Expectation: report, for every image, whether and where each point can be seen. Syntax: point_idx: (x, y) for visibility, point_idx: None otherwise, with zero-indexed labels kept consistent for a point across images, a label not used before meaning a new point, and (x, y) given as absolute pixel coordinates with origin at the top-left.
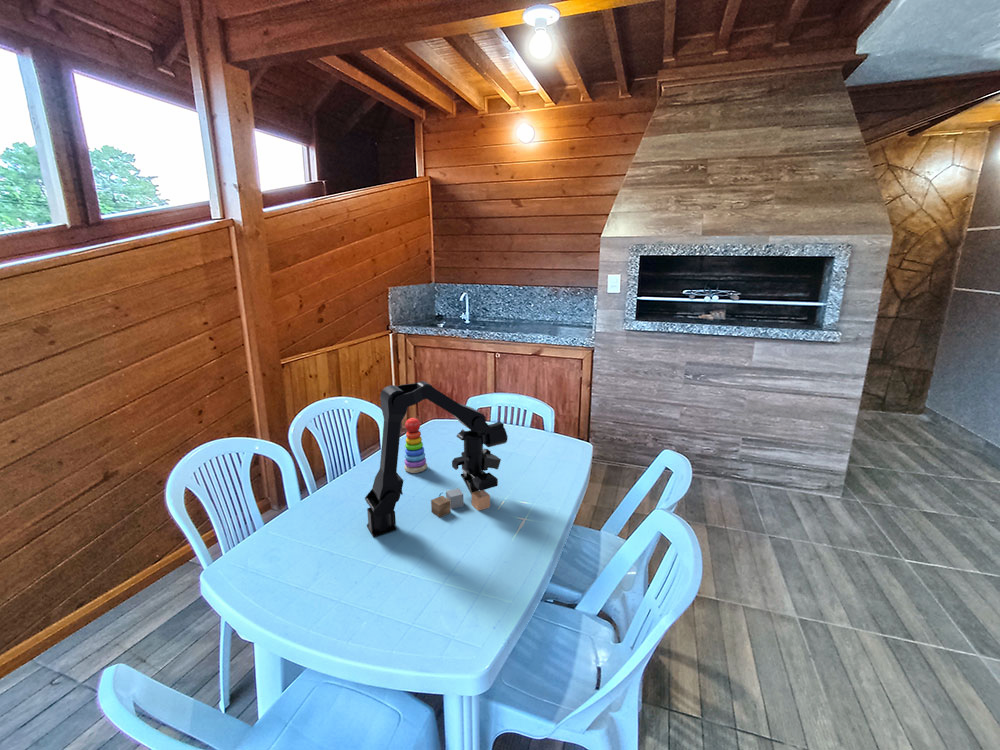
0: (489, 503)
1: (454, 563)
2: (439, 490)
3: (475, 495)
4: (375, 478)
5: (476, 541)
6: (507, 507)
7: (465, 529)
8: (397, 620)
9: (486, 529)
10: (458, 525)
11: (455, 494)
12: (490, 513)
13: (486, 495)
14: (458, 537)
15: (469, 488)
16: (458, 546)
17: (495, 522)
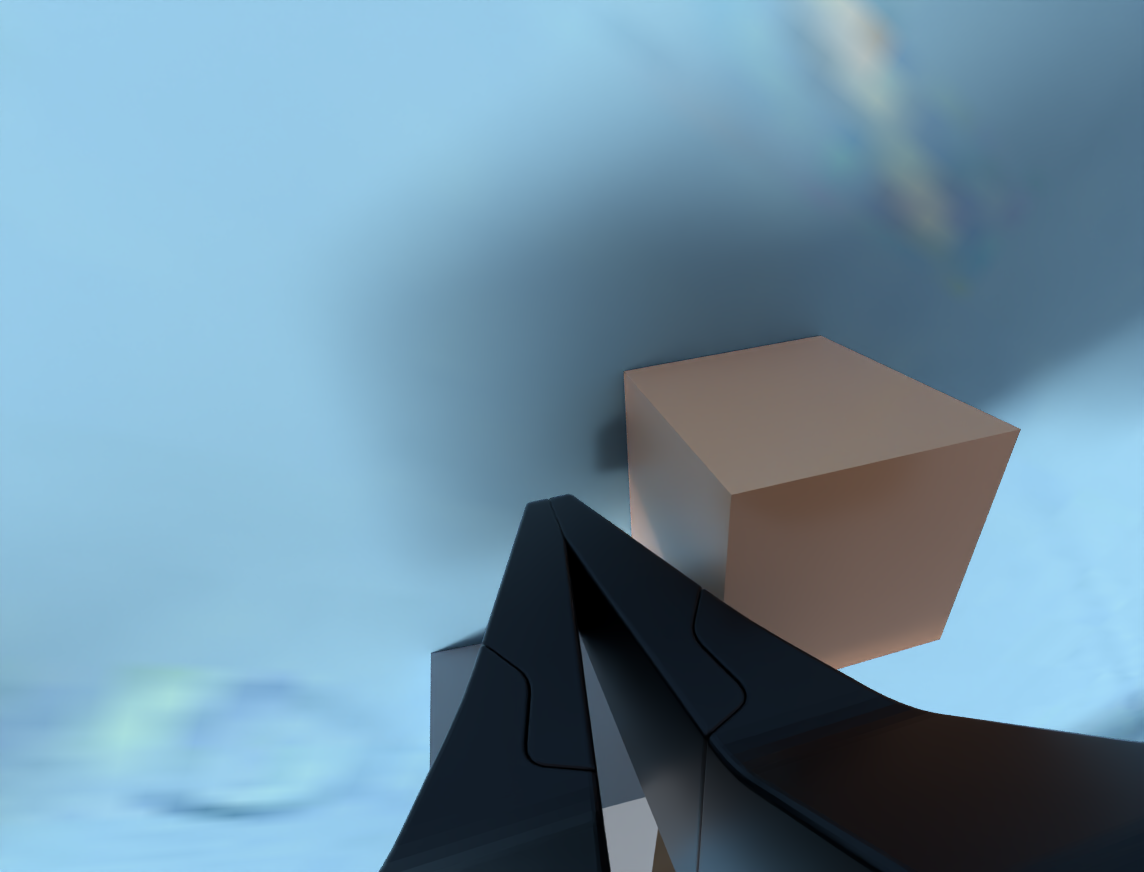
0: (865, 364)
1: (1119, 714)
2: (74, 825)
3: (837, 661)
4: None
5: (1110, 600)
6: (1020, 44)
7: (950, 646)
8: None
9: (1086, 505)
10: (870, 683)
11: (613, 864)
12: (936, 383)
13: (981, 496)
14: (981, 690)
15: (645, 780)
16: (1045, 694)
17: (1094, 393)
